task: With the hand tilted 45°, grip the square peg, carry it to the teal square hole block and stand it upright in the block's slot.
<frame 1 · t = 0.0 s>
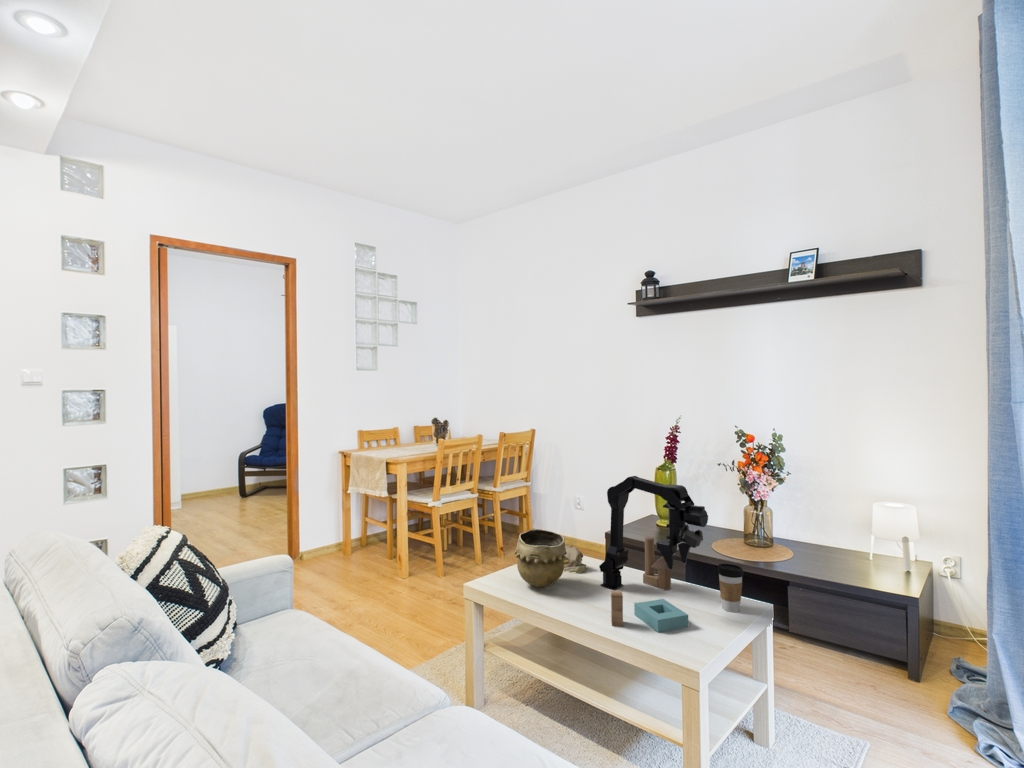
hand: (677, 565, 194), 15 cm above the table, tool pointing down, fingers open, 9 cm apart
teal square hole block: (660, 620, 183), on the table
square peg: (617, 623, 181), on the table
wooden block: (656, 586, 215), on the table
clay pot: (541, 586, 216), on the table
ceramic model: (571, 568, 236), on the table
coffee cup: (730, 609, 193), on the table
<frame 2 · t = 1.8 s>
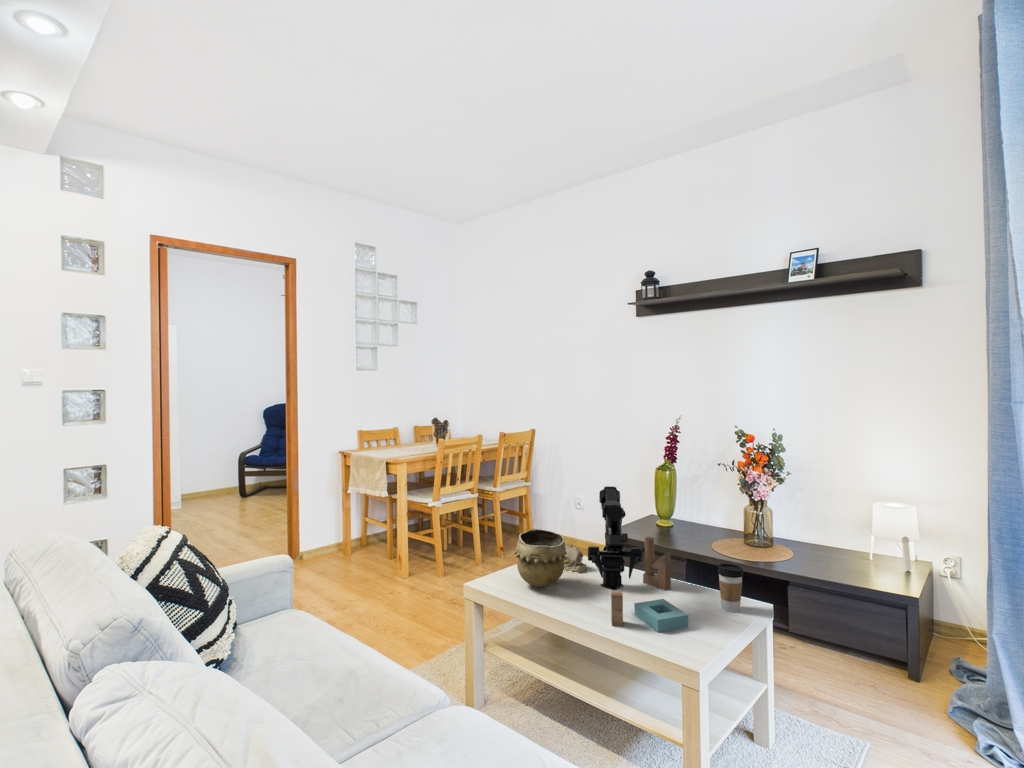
hand: (615, 577, 186), 13 cm above the table, tool tilted 45°, fingers open, 9 cm apart
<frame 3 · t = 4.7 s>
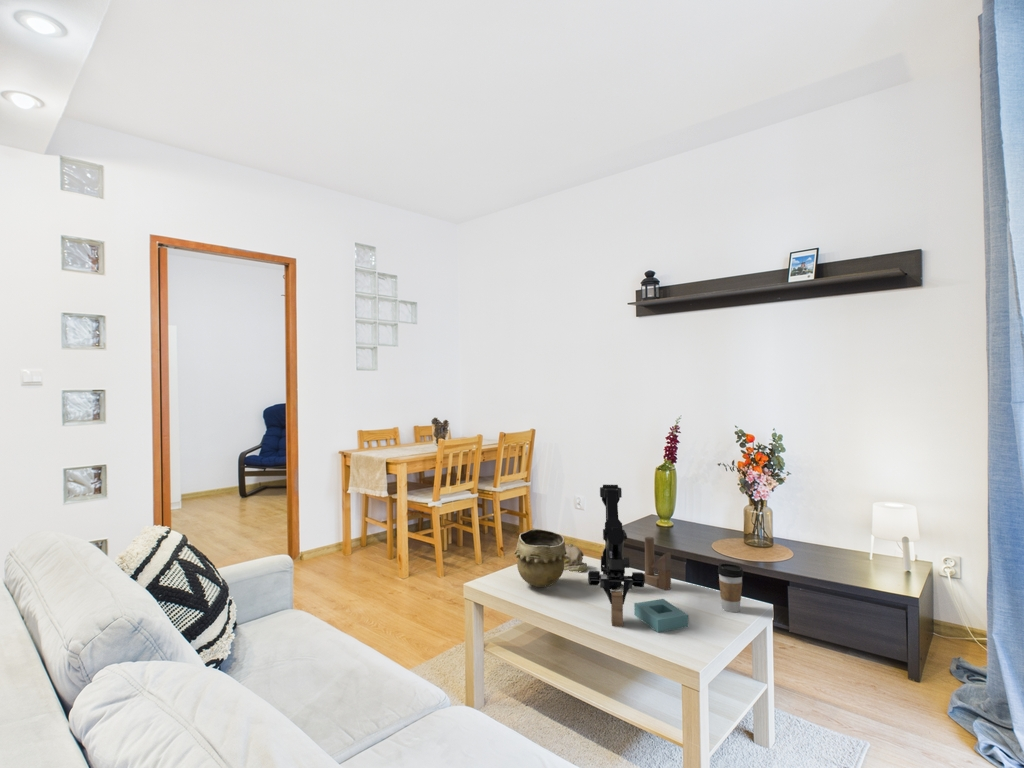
hand: (617, 603, 180), 7 cm above the table, tool tilted 45°, fingers closed on square peg, 3 cm apart
square peg: (617, 623, 181), on the table, touching gripper
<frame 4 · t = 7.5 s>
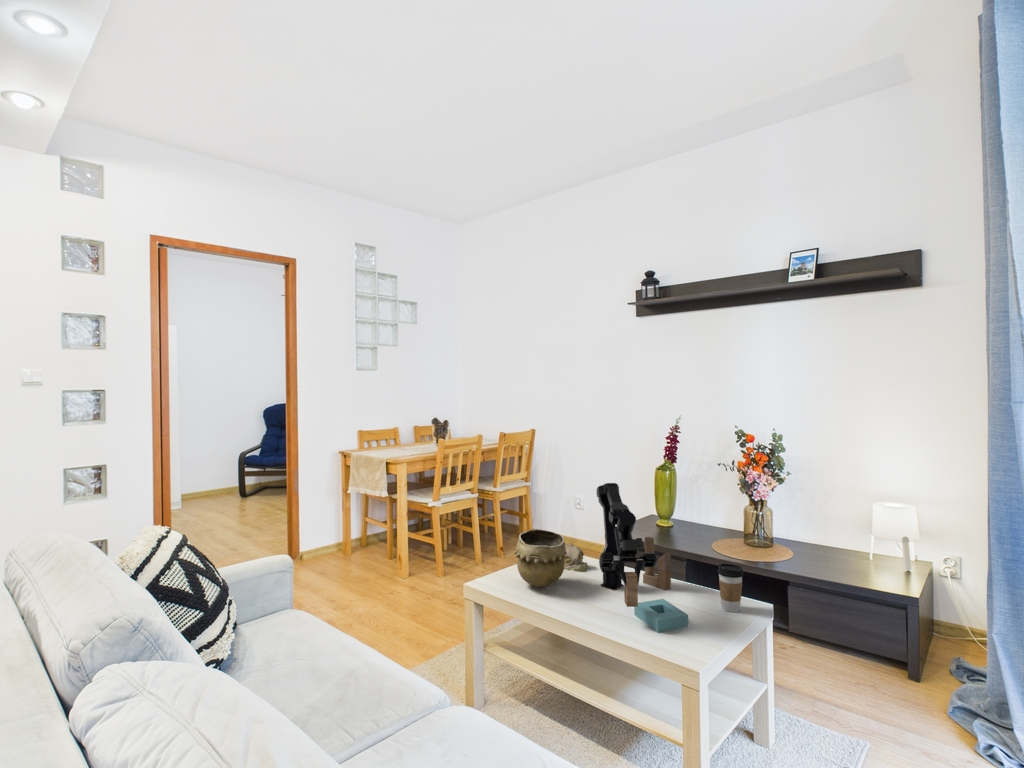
hand: (631, 584, 180), 14 cm above the table, tool tilted 45°, fingers closed on square peg, 3 cm apart
square peg: (631, 604, 181), point 6 cm above the table, touching gripper
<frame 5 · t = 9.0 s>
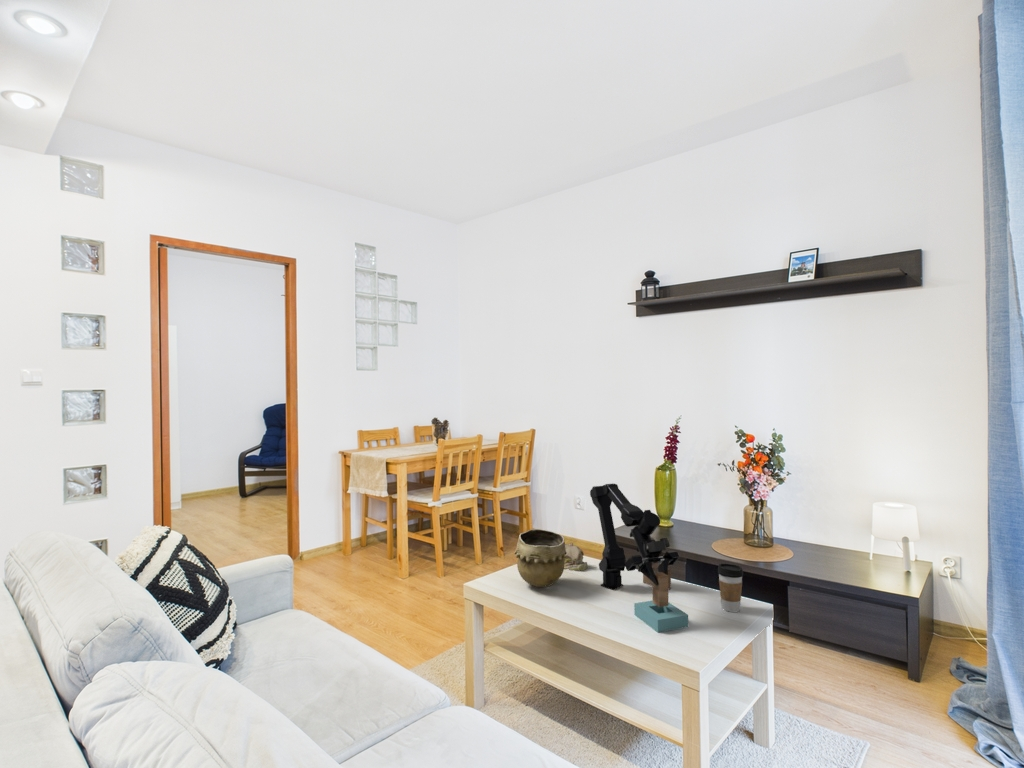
hand: (662, 584, 182), 13 cm above the table, tool tilted 45°, fingers closed on square peg, 3 cm apart
square peg: (660, 604, 183), point 6 cm above the table, touching gripper
when the fingers open (8 cm above the table, at t = 10.2 s): square peg stays where it is, resting in teal square hole block.
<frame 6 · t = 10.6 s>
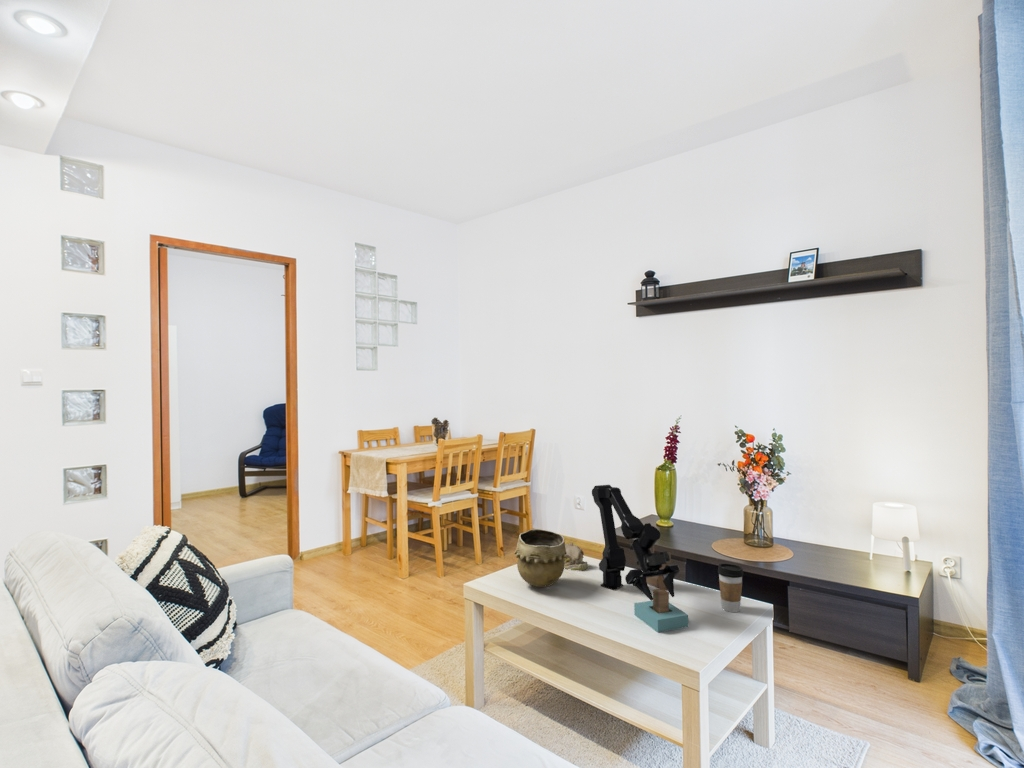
hand: (662, 598, 182), 8 cm above the table, tool tilted 45°, fingers open, 8 cm apart
square peg: (660, 621, 183), resting in teal square hole block
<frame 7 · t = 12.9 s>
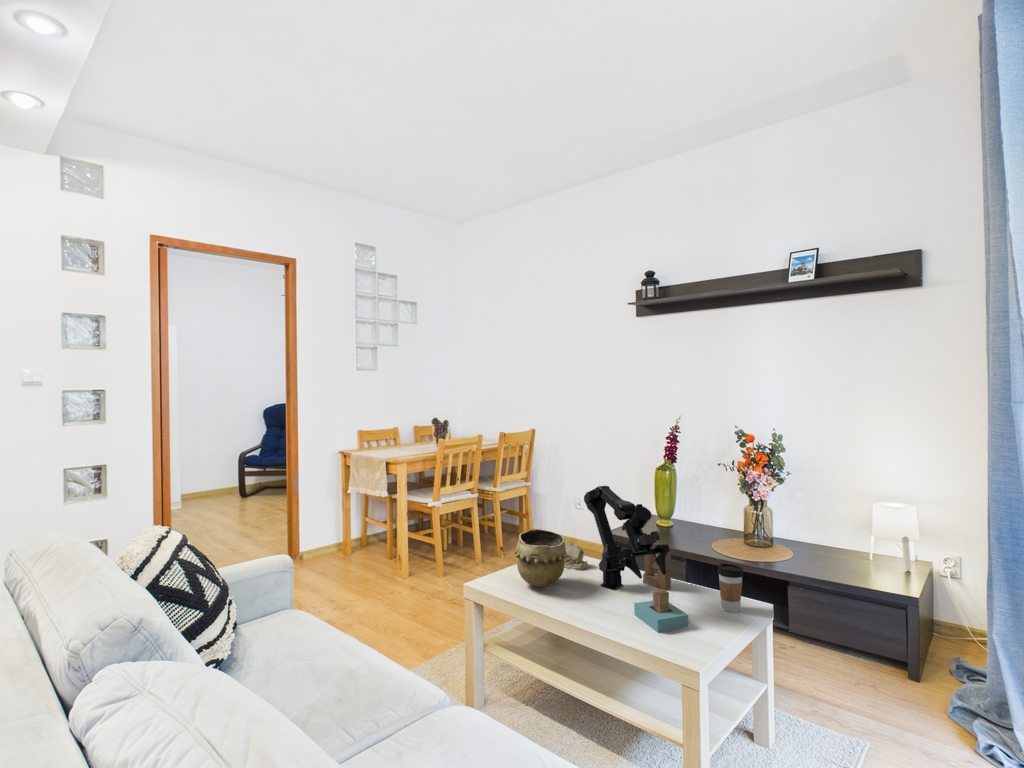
hand: (653, 576, 187), 13 cm above the table, tool tilted 45°, fingers open, 9 cm apart
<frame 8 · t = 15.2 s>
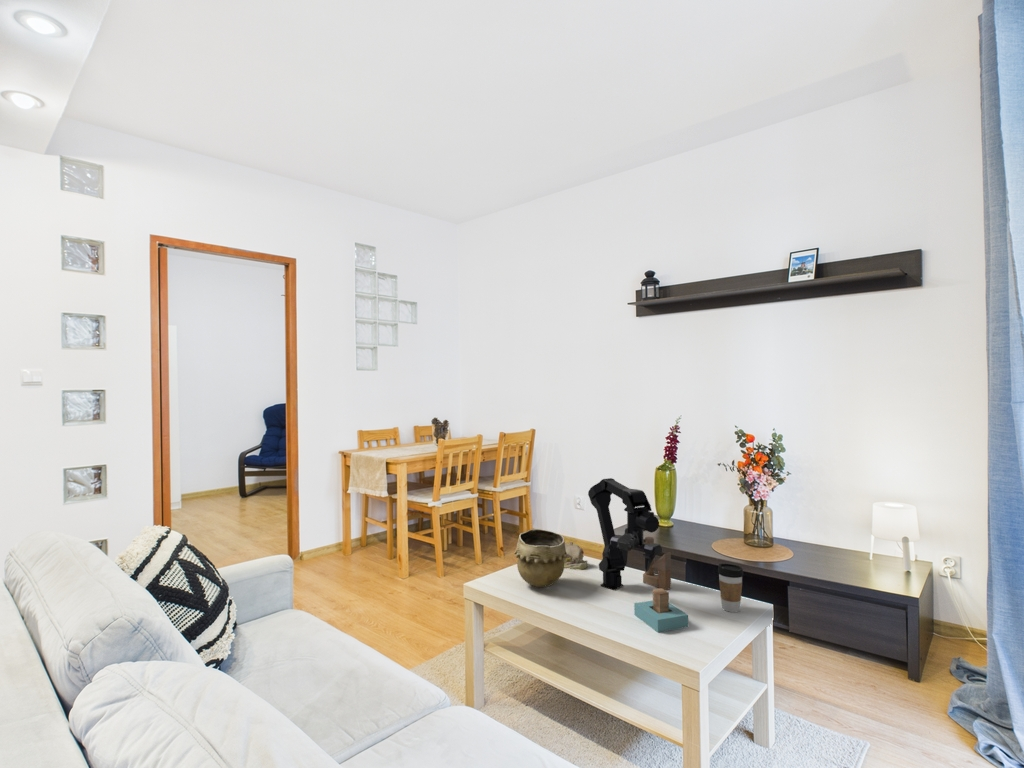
hand: (635, 568, 200), 12 cm above the table, tool pointing down, fingers open, 9 cm apart
at the end: square peg 0.1 cm off-centre on the teal square hole block, point 0.0 cm above the teal square hole block's base; square peg tilted 0°; the gripper is holding nothing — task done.
